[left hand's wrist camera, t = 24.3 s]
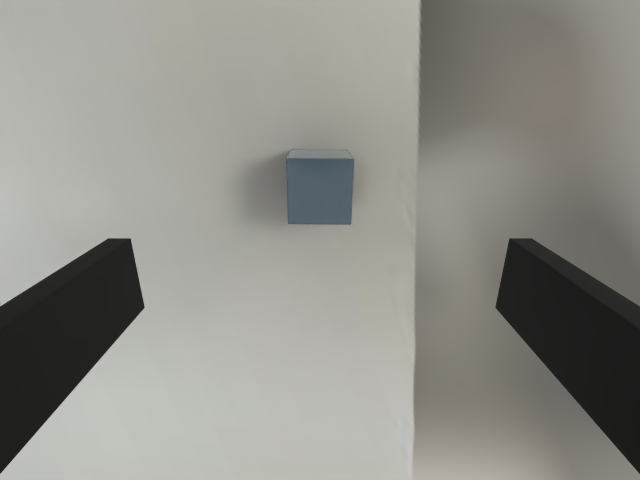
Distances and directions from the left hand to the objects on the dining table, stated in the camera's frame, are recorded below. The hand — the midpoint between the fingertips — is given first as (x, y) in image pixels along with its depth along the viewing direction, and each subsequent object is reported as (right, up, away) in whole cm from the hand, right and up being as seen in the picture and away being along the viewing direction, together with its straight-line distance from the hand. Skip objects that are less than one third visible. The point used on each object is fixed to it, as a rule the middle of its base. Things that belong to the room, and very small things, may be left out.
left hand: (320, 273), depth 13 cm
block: (0, +6, +16) cm, 17 cm away
